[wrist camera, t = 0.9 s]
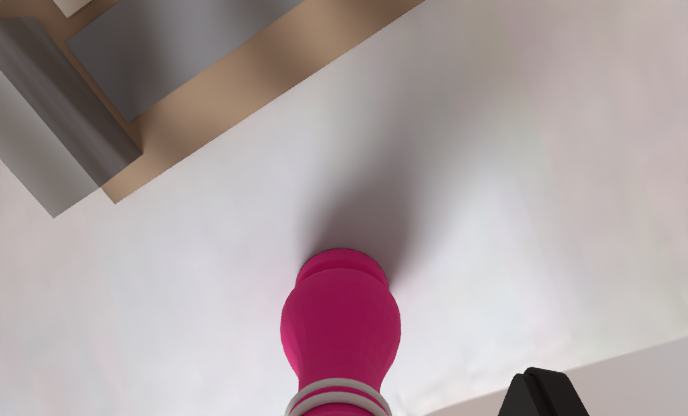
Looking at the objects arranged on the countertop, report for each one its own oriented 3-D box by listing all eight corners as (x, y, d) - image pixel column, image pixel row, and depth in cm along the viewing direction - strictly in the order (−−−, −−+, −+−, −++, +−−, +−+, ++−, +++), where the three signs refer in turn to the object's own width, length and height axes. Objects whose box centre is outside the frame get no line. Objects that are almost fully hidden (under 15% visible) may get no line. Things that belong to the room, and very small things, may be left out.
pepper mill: (270, 261, 36) (187, 547, 17) (373, 225, 35) (402, 487, 16) (312, 346, 38) (279, 678, 20) (409, 315, 37) (470, 632, 19)
